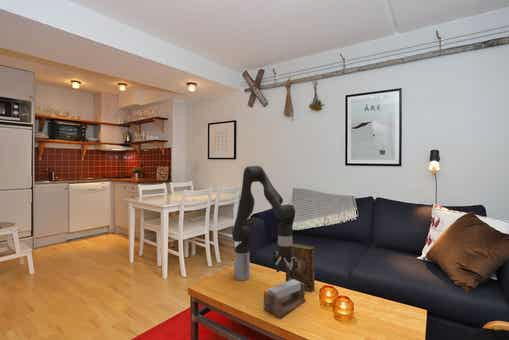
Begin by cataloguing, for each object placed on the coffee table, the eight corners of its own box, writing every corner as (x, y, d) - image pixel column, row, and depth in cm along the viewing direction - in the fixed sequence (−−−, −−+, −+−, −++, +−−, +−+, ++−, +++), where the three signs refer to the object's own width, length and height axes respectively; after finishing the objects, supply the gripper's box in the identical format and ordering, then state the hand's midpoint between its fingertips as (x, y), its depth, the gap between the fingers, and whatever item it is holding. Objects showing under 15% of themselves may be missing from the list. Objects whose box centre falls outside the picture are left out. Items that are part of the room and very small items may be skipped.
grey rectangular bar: (268, 296, 136) (268, 288, 136) (294, 286, 147) (293, 279, 147) (274, 300, 132) (274, 292, 132) (300, 289, 143) (300, 282, 143)
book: (315, 288, 158) (315, 246, 156) (312, 292, 153) (312, 249, 152) (289, 282, 165) (288, 242, 164) (285, 286, 160) (285, 245, 159)
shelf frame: (263, 310, 135) (263, 291, 135) (288, 294, 151) (288, 277, 151) (280, 319, 128) (280, 299, 127) (305, 301, 144) (305, 283, 143)
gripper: (269, 242, 140) (269, 272, 141) (292, 248, 130) (291, 281, 131) (278, 238, 145) (278, 268, 146) (300, 244, 136) (300, 276, 137)
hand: (284, 274), depth 139 cm, fingers open, 8 cm apart
